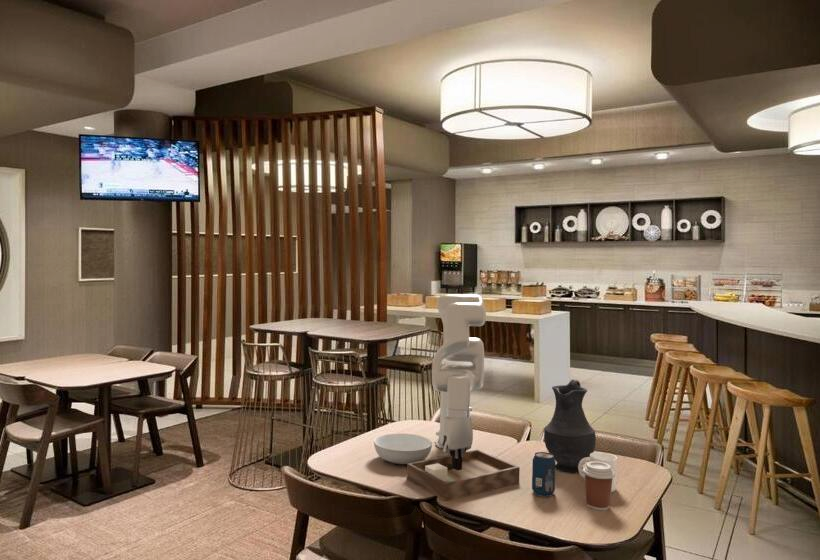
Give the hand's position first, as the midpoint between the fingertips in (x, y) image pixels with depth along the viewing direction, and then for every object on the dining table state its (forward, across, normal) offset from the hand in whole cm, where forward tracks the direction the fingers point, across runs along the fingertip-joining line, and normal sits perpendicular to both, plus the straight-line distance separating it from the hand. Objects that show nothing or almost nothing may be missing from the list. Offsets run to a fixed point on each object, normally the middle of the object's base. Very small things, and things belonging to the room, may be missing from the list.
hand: (456, 468), depth 186 cm
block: (+2, +9, +1) cm, 9 cm away
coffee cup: (+4, -24, +36) cm, 44 cm away
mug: (+4, -36, +26) cm, 45 cm away
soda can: (+4, -17, +21) cm, 28 cm away
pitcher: (+5, -43, +9) cm, 44 cm away
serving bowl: (+5, +4, -26) cm, 27 cm away
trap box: (+4, -2, 0) cm, 5 cm away
